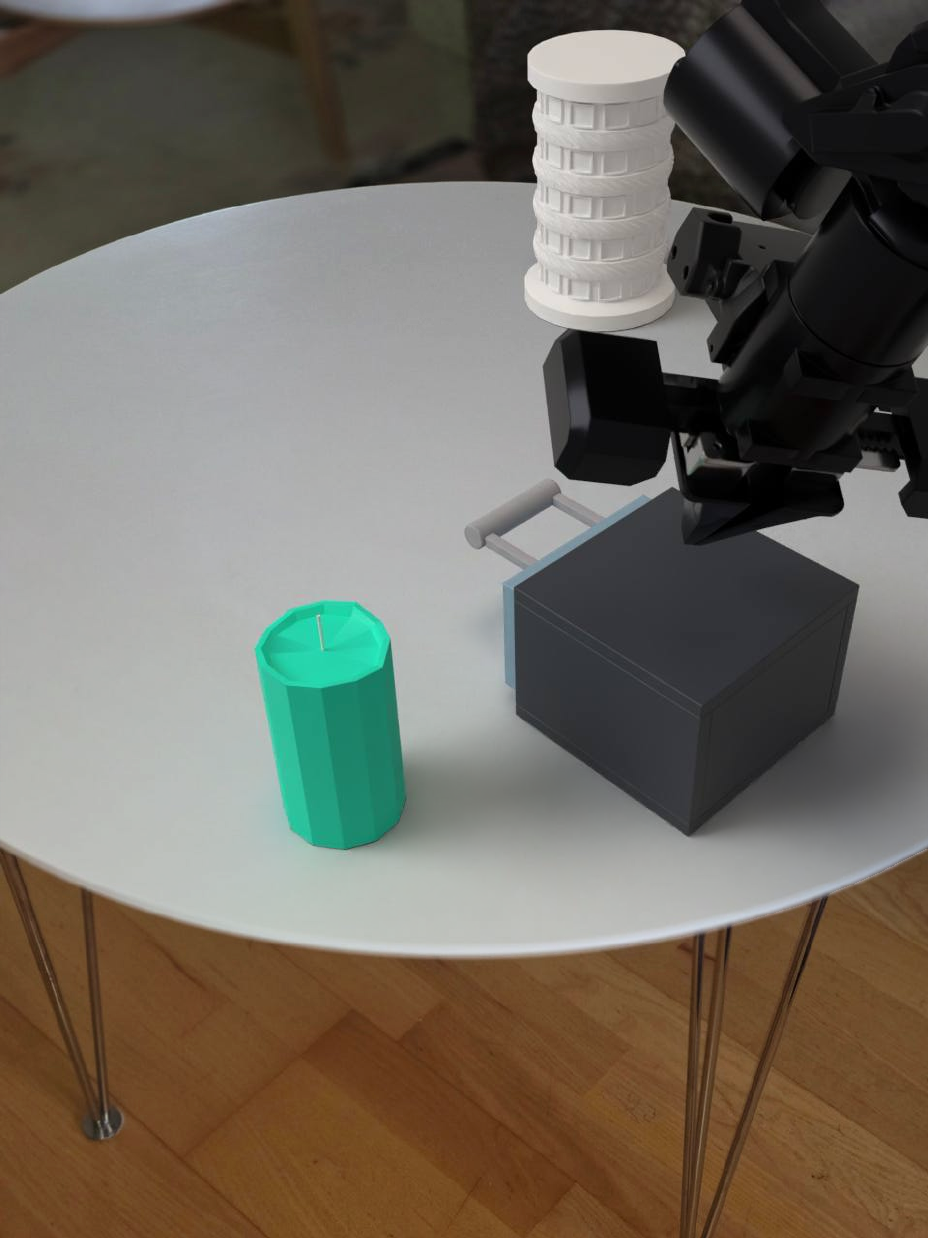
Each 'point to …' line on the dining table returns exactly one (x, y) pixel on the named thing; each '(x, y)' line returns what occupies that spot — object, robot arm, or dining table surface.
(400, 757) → the candle
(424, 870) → the dining table surface
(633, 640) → the dark grey box
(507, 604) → the drawer
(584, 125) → the decorative container
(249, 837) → the dining table surface
